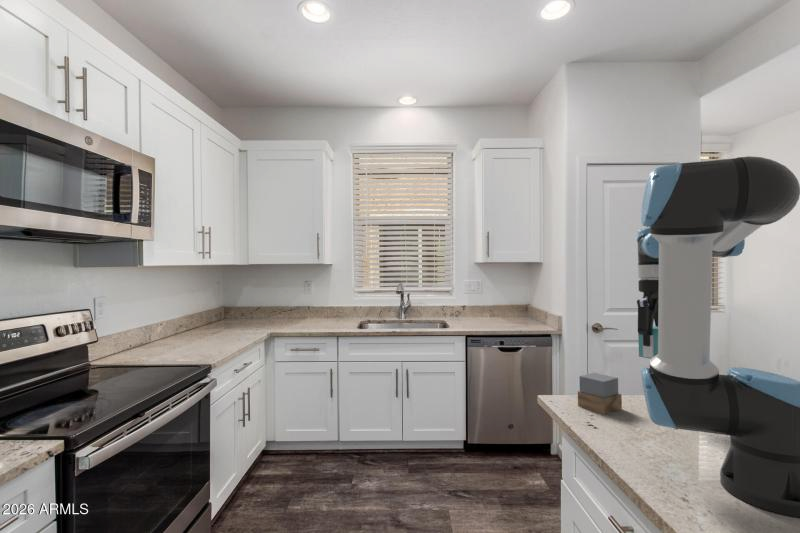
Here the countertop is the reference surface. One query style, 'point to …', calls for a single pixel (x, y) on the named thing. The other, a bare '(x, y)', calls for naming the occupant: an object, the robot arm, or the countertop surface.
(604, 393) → the charcoal block
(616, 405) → the walnut base
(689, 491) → the countertop surface
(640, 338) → the teal block
